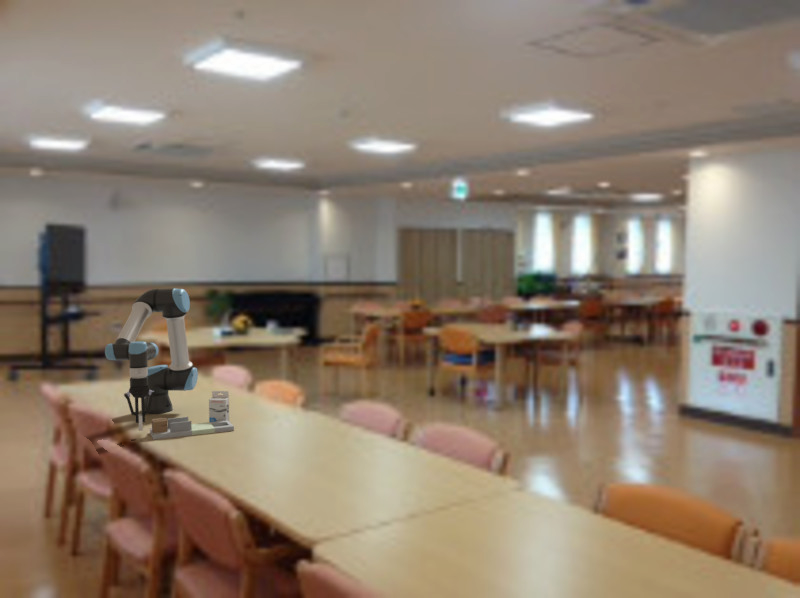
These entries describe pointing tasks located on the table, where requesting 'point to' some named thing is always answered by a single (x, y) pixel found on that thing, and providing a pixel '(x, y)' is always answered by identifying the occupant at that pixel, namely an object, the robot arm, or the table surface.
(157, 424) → the block
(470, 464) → the table surface
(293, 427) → the table surface
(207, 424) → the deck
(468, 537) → the table surface
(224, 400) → the ink box
